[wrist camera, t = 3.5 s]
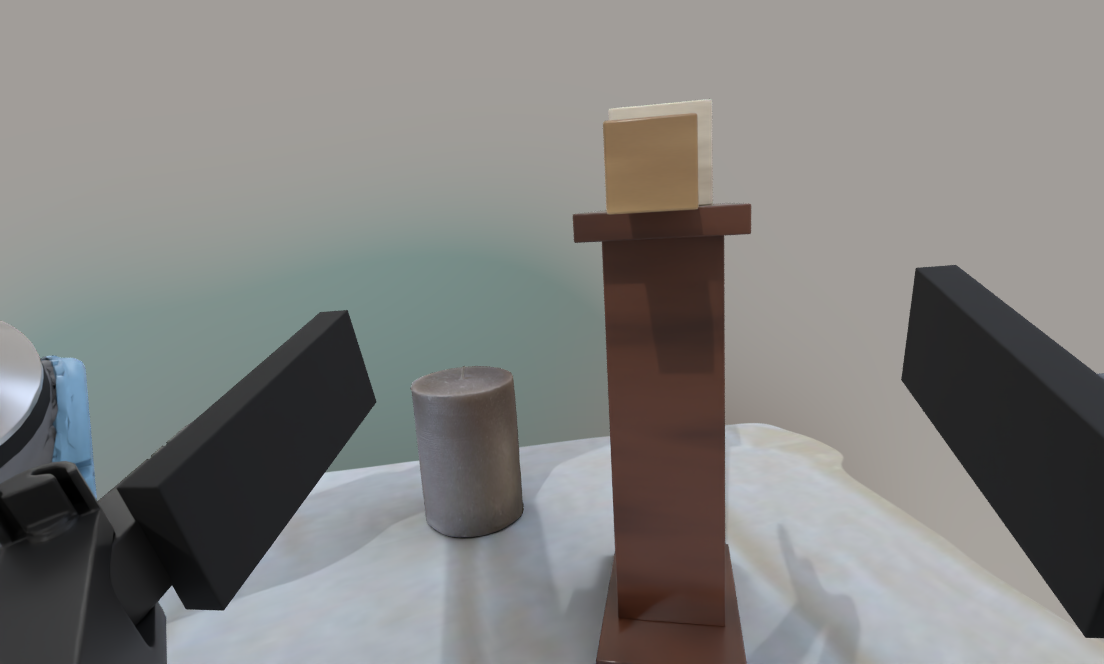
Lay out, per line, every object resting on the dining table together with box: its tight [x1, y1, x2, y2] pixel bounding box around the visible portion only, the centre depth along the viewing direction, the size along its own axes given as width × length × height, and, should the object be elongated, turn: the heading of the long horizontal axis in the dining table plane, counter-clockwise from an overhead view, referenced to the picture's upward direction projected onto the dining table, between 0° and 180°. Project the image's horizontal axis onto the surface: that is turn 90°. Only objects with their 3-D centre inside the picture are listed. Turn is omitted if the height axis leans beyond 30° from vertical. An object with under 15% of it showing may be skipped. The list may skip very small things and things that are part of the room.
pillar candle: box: [410, 366, 524, 537], centre depth 58 cm, size 10×10×15 cm
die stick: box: [603, 99, 713, 215], centre depth 31 cm, size 22×6×6 cm, turn 169°
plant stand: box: [573, 203, 751, 664], centre depth 40 cm, size 14×9×28 cm, turn 169°
